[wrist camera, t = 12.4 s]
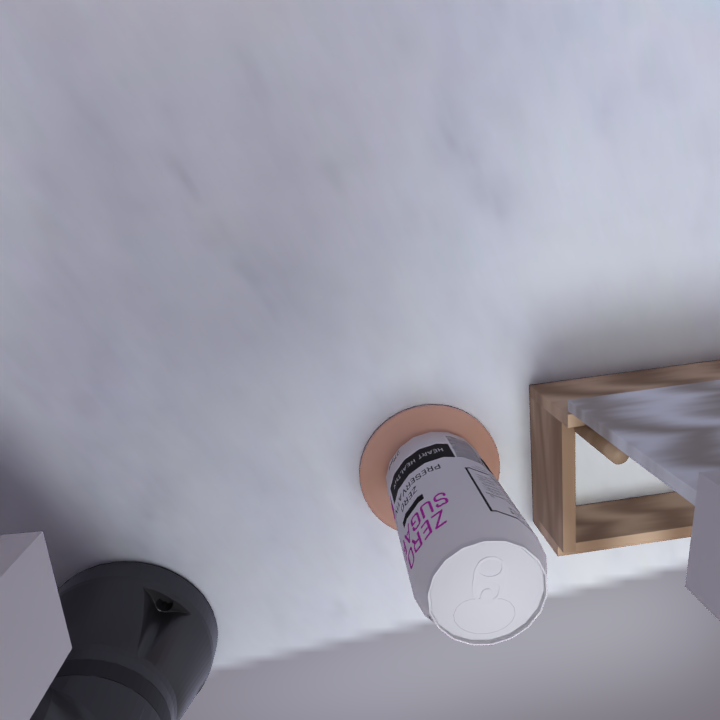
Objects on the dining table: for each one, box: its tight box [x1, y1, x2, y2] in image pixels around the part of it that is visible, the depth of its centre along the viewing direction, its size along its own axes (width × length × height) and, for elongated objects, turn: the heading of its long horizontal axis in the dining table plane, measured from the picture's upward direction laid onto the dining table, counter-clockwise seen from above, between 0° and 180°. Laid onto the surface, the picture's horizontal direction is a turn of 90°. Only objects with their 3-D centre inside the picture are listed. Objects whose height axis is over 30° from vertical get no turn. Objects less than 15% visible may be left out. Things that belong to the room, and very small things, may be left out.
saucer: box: [360, 404, 500, 530], centre depth 44 cm, size 12×12×1 cm
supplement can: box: [386, 432, 548, 645], centre depth 37 cm, size 8×8×15 cm
